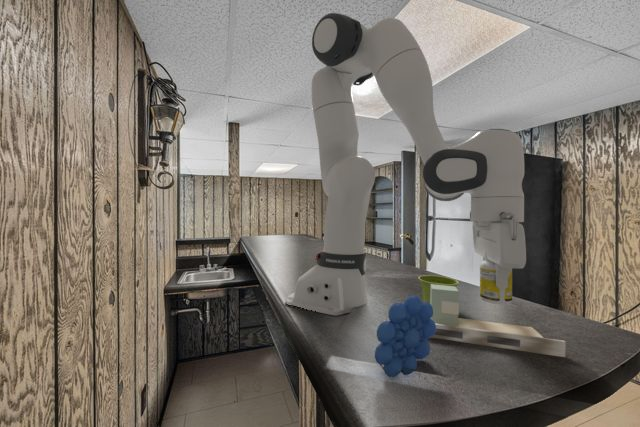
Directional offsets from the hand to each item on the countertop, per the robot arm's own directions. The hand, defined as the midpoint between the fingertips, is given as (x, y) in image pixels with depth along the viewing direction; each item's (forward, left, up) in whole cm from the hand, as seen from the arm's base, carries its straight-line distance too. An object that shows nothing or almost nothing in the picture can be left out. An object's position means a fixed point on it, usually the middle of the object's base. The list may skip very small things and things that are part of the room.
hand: (495, 283), depth 54 cm
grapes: (-17, -17, -12) cm, 27 cm away
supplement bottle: (0, 0, -4) cm, 4 cm away
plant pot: (-9, +13, -12) cm, 20 cm away
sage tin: (-9, +1, -10) cm, 14 cm away
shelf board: (-2, +1, -12) cm, 12 cm away
